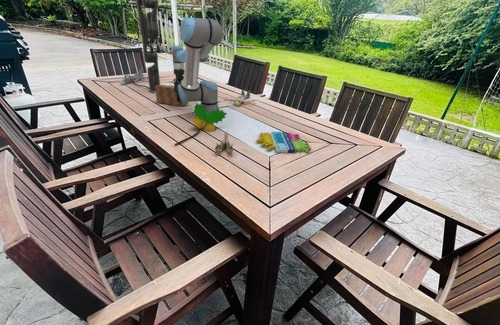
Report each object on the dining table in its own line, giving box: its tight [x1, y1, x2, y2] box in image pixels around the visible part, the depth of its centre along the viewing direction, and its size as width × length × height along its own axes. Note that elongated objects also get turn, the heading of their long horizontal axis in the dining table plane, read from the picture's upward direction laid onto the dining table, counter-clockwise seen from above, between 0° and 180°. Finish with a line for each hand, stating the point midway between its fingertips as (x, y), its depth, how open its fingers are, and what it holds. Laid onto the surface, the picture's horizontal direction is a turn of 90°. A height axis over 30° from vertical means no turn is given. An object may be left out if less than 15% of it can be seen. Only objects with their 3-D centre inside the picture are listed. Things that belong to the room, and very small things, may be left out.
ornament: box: [191, 101, 228, 132], centre depth 162 cm, size 21×8×15 cm, turn 105°
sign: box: [256, 131, 312, 154], centre depth 152 cm, size 26×2×30 cm
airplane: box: [119, 66, 148, 86], centre depth 257 cm, size 38×31×10 cm
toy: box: [223, 89, 257, 106], centre depth 219 cm, size 28×7×30 cm
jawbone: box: [214, 131, 234, 156], centre depth 136 cm, size 9×15×10 cm
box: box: [155, 83, 189, 107], centre depth 200 cm, size 24×6×13 cm, turn 75°
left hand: (155, 52), depth 198 cm, fingers open, 8 cm apart
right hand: (181, 100), depth 200 cm, fingers closed on box, 6 cm apart
